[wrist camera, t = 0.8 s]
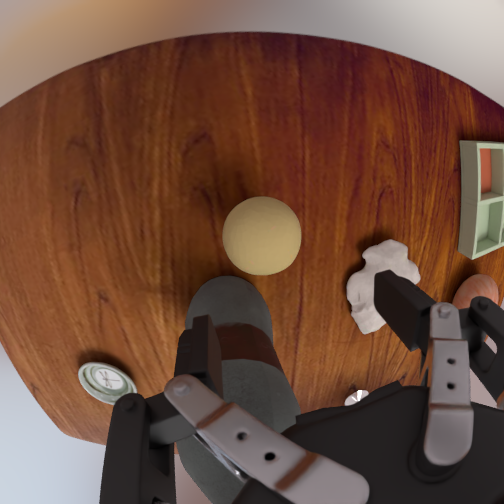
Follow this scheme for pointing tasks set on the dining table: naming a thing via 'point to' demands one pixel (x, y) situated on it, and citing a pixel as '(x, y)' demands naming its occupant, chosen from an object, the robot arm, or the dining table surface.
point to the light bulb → (262, 236)
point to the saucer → (105, 381)
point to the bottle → (238, 375)
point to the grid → (481, 197)
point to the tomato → (475, 290)
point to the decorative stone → (363, 281)
